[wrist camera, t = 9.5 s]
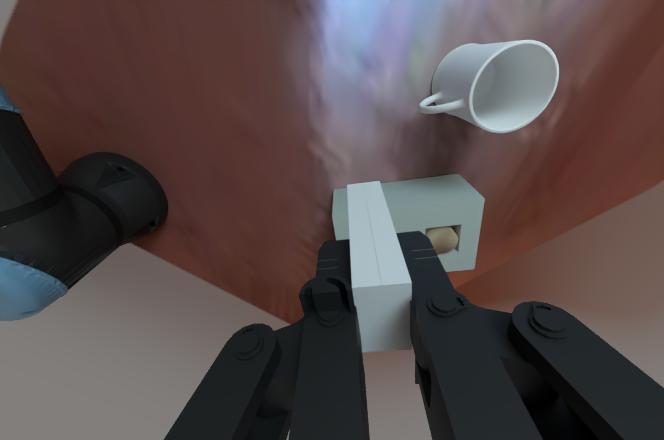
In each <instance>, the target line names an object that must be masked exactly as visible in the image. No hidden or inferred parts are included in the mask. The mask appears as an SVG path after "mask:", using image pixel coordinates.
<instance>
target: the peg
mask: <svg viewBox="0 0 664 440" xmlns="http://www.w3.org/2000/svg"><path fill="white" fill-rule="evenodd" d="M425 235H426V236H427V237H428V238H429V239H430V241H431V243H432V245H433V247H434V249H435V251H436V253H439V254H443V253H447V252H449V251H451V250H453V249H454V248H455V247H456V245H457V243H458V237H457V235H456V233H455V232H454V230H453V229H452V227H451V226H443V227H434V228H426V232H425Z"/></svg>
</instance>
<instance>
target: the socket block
mask: <svg viewBox="0 0 664 440" xmlns="http://www.w3.org/2000/svg"><path fill="white" fill-rule="evenodd" d="M381 187H382V191H383V194H384V197H385V200H386V203H387V206H388V209H389V213H390V216H391V219H392V222H393V225H394V228H395V231H396V233H402V232H411V231H420V232H422V233H423V234H424V235H425V232H426V228H434V227H443V226H451V227H452V229H453V230H454V232H455V233H456V235H457V237H458V243H457V245H456V247H455V248H454V249H453V250H451V251H449V252H447V253H443V254H439V253H437V255H438V257H439V259H440V261H441V263H442V265H443V267H444V269H445V271H446V272H449V271H460V270H471V269H474V267H475V260H476V254H477V247H478V240H479V234H480V227H481V220H482V214H483V207H484V200H485V199H484V198H483V197H482V196H481V195H480V194H479V193H478V192H477V191H476V190H475V189H474V188H473V187H472V186H471V185H470V184H469V183H468V182H467V181H466V180H465V179H464V178H463V177H462V176H461V175H460V174H451V175H443V176H436V177H428V178H420V179H412V180H405V181H397V182H389V183H381ZM332 219H333V225H334V230H335V236H336V240H344V239H350V237H349V216H348V195H347V188H343V189H335V190H334V192H333V210H332Z"/></svg>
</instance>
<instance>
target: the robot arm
mask: <svg viewBox="0 0 664 440" xmlns="http://www.w3.org/2000/svg"><path fill="white" fill-rule="evenodd" d="M22 115H23V114H22V112H21V111H20V110H19V109H17V108H16V107H15V106H14V104H13V103H12V101H11V100H10V98H9V96H8V95H7V93H6V92H5V90H4V88H3V87H2V85H1V84H0V321H13V320H20V319H24V318H28V317H31V316H33V315H35V314H37V313H39V312H40V311H42V310H43V309H44V308H46V307H47V306H48V305H50V304H51V303H53V302H54V301H55V300H57V299H58V298H59V297H62V296H64V295H65V294H66V293H67V291H68V290H69V289H70V288H71V287H72V286H74V285H75V284H76V283H77V282H78V281H79V280H80V279H82V278H83V277H84V276H85V275H86V274H87V273H89V272H90V271H91V270H92V269H93V268H95V267H96V266H97V265H98V264H99V263H100V262H101V261H103V260H104V259H105V258H106V257H107V256H109V255H110V254H111V253H112V252H113V251H114V250H116V249H117V248H118V247H119V246H122V245H124V244H127V243H130V242H132V241H135V240H138V239H140V238H143V237H145V236H148V235H149V234H151V233H153V232H154V231H155V230H156V229H157V228H158V227H159V226H160V225H161V224H162V223H163V222H164V221H165V219H166V216H167V212H168V203H167V199H166V196H165V193H164V191H163V189H162V187H161V186H160V184H159V183H158V181H157V180H156V179H155V178H154V177H153V175H152V174H151V173H150V172H148V171H147V170H146V169H145V168H144V167H142V166H141V165H139V164H138V163H136V162H135V161H133V160H131V159H129V158H127V157H124V156H121V155H118V154H114V153H108V152H97V153H92V154H89V155H87V156H84V157H81V158H79V159H77V160H75V161H74V162H72V163H71V164H70V165H69V166H68V167H67V168H66V169H65V170H64V171H63V172H62V173H61V174H60V175H59V176H58V177H57V178H56V177H55V175H54V173H53V172H52V170H51V168H50V166H49V165H48V163H47V161H46V159H45V157H44V156H43V154H42V152H41V150H40V148H39V147H38V145H37V143H36V141H35V140H34V138H33V136H32V134H31V132H30V131H29V129H28V127H27V125H26V124H25V122H24V120H23V118H22ZM347 195H348V216H349V237H350V239H344V240H335V241H325V242H324V244H323V245H322V247H321V248H320V249H319V253H318V262H317V270H316V277H315V278H313V279H311V280H309V281H308V282H307V283H306V284H305V285H304V286H303V287H302V288H301V291H300V293H299V298H300V301H301V305H302V308H303V312H304V315H305V316H304V317H303V318H302V319H300V320H299V321H298V322H296V323H294V324H291V325H289V326H287V327H284V328H281V329H278V330H276V331H273V330H272V328H271V327H270V326H268V325H265V324H252V325H249V326H246V327H243V328H242V329H240V330H239V331H237V332H236V333H235V334H233V336H232V337H231V338H230V339H229V340H228V341H227V343H226V344H225V346H224V347H223V349H222V350H221V352H220V353H219V355H218V357H217V358H216V360H215V361H214V363H213V364H212V366H211V367H210V369H209V370H208V372H207V374H206V375H205V377H204V378H203V380H202V381H201V383H200V384H199V386H198V388H197V389H196V391H195V392H194V394H193V395H192V397H191V398H190V400H189V402H188V403H187V404H186V406H185V408H184V409H183V411H182V412H181V414H180V415H179V417H178V418H177V420H176V421H175V423H174V425H173V426H172V428H171V429H170V431H169V432H168V434H167V435H166V437H165V439H164V440H286V438H287V435H288V432H289V429H290V433H289V440H370V437H369V424H368V412H367V399H366V387H365V373H364V366H363V357H362V353H363V352H378V351H394V350H410V349H412V345H413V349H414V353H415V383H416V384H419V385H420V389H421V394H422V398H423V402H424V406H425V410H426V415H427V419H428V423H429V427H430V431H431V436H432V440H664V388H663V387H662V386H660V385H659V384H658V383H657V382H655V381H654V380H653V379H652V378H650V377H649V376H648V375H647V374H645V373H644V372H643V371H642V370H640V369H639V368H638V367H637V366H635V365H634V364H633V363H631V362H630V361H629V360H628V359H627V358H625V357H624V356H623V355H622V354H620V353H619V352H618V351H617V350H615V349H614V348H613V347H611V346H610V345H609V344H608V343H607V342H605V341H604V340H603V339H602V338H600V337H599V336H598V335H596V334H595V333H594V332H593V331H591V330H590V329H589V328H588V327H586V326H585V325H584V324H583V323H581V322H580V321H579V320H577V319H576V318H575V317H574V316H572V315H571V314H569V313H568V312H566V311H564V310H563V309H561V308H559V307H556V306H553V305H551V304H548V303H543V302H536V301H531V302H523V303H521V304H519V305H517V306H516V307H515V308H514V310H513V312H512V313H507V312H501V311H496V310H490V309H485V308H481V307H478V306H476V305H473V304H471V303H470V302H469V301H468V300H467V299H466V297H465V296H463V295H462V294H460V293H458V292H457V291H455V289H454V288H453V286H452V284H451V282H450V280H449V278H448V275H447V273H446V271H445V269H444V267H443V265H442V263H441V261H440V259H439V257H438V255H437V253H436V251H435V249H434V247H433V245H432V243H431V241H430V239H429V238H428V237H427V236H426V235H424V234H423V233H422V232H420V231H411V232H402V233H396V231H395V228H394V225H393V222H392V219H391V216H390V213H389V209H388V206H387V203H386V200H385V197H384V194H383V191H382V187H381V184H380V181H375V182H367V183H359V184H351V185H347Z"/></svg>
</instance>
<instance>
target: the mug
mask: <svg viewBox="0 0 664 440" xmlns="http://www.w3.org/2000/svg"><path fill="white" fill-rule="evenodd" d="M558 78H559V66H558V61H557V58H556V56H555V54H554V53H553V51H552V50H551V49H550V48H549V47H548V46H547V45H545V44H543V43H541V42H538V41H534V40H521V41H511V42H502V43H493V44H484V45H481V44H474V43H473V44H465V45H462V46H460V47H457V48H456V49H454V50H452V51H451V52H450V53H448V54H447V55H446V56H445V57H444V58H443V60H442V61H441V62H440V64H439V65H438V67H437V69H436V71H435V73H434V76H433V80H432V96H430V97H428V98H426V99H425V100H423V101H422V102H421V103H420V104H419V110H420V112H421V113H425V114H435V113H442V112H444V113H446V114H449V115H453V116H457V117H459V118H461V119H463V120H465V121H467V122H470V123H472V124H474V125H476V126H478V127H480V128H482V129H484V130H486V131H489V132H493V133H506V132H511V131H514V130H517V129H519V128H522V127H523V126H525V125H527V124H528V123H530V122H531V121H533V120H534V119H535V118H536V117H537V116H538V115H539V114H540V113H541V112H542V111H543V110H544V109H545V108H546V106H547V105H548V103H549V102H550V100H551V99H552V97H553V95H554V92H555V90H556V87H557V83H558ZM433 102H435V104H436V105H437V106H427V105H429V104H431V103H433Z"/></svg>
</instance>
